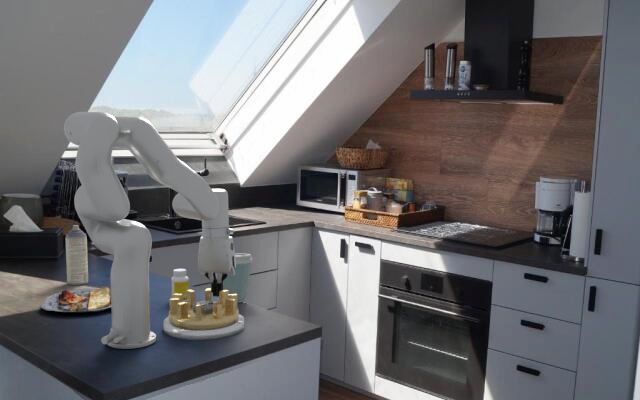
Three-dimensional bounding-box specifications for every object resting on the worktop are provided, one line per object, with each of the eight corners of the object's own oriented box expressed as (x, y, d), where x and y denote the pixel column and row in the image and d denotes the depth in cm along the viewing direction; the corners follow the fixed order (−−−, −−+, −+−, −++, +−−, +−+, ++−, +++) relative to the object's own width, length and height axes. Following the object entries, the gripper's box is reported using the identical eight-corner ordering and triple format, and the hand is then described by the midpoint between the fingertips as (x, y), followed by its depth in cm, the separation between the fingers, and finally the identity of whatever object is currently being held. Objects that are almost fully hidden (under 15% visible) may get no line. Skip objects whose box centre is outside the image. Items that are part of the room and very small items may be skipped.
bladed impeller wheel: (220, 333, 186) (220, 309, 186) (155, 325, 192) (155, 302, 191) (249, 313, 204) (249, 291, 203) (189, 307, 210) (189, 285, 209)
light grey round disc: (219, 344, 184) (219, 335, 184) (147, 333, 192) (147, 325, 192) (257, 320, 205) (257, 313, 204) (190, 312, 213) (190, 305, 212)
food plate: (50, 295, 229) (50, 285, 229) (125, 293, 234) (125, 282, 233) (36, 320, 205) (36, 308, 204) (121, 317, 210) (120, 305, 209)
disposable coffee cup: (212, 299, 227) (212, 252, 225) (242, 294, 234) (242, 248, 232) (229, 306, 219) (228, 258, 217) (259, 301, 225) (259, 254, 223)
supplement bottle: (192, 300, 226) (192, 269, 224) (178, 303, 222) (177, 272, 220) (182, 297, 229) (181, 267, 228) (167, 300, 225) (167, 269, 224)
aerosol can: (87, 280, 250) (85, 223, 248) (88, 284, 244) (86, 226, 241) (67, 281, 248) (64, 224, 245) (67, 286, 242) (65, 227, 239)
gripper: (245, 231, 205) (246, 293, 208) (196, 229, 208) (198, 290, 211) (236, 236, 198) (237, 300, 200) (185, 234, 201) (187, 297, 204)
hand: (217, 295), depth 206 cm, fingers closed
